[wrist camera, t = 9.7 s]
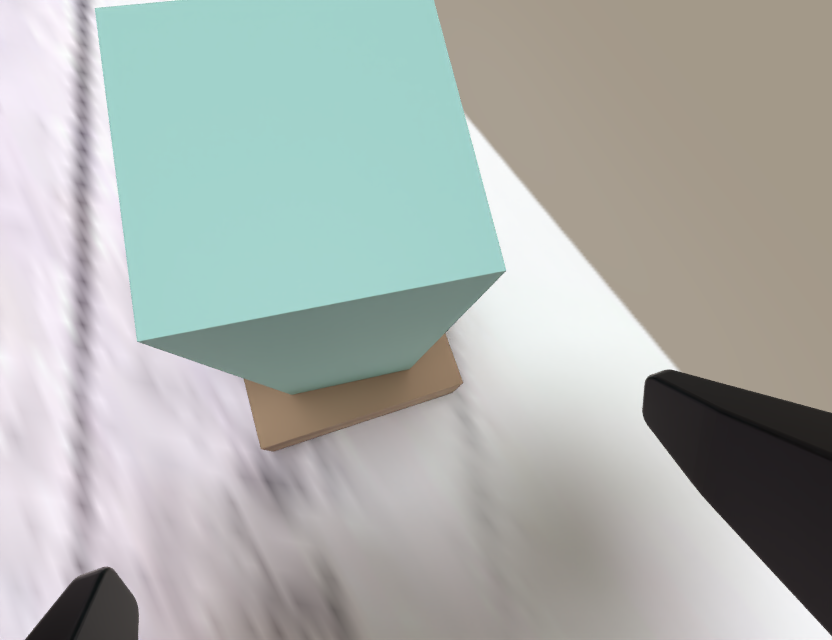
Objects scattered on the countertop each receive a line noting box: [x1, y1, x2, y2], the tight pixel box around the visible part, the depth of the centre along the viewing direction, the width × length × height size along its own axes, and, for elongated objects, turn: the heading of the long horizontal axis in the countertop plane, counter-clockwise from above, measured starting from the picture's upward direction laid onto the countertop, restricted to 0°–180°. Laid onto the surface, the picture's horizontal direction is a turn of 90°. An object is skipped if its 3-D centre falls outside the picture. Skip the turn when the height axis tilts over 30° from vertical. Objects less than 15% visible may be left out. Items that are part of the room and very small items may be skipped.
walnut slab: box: [244, 333, 463, 451], centre depth 21 cm, size 8×8×3 cm
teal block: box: [95, 0, 506, 395], centre depth 13 cm, size 5×5×13 cm
